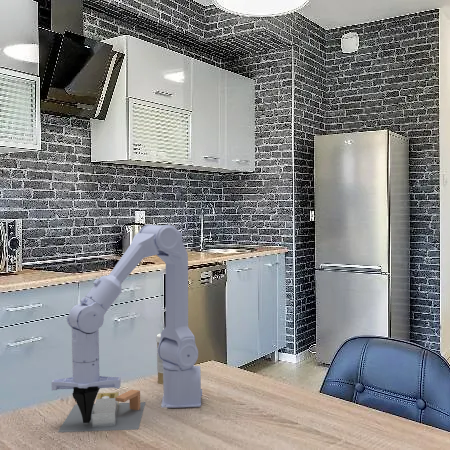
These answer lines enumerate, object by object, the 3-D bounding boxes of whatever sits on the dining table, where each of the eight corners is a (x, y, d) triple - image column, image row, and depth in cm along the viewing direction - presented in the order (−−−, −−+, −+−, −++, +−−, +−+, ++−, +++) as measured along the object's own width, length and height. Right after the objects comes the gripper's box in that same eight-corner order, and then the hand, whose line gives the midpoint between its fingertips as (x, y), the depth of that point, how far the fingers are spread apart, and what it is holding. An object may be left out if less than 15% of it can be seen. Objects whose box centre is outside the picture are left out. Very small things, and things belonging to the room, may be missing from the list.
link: (98, 405, 133) (98, 393, 133) (118, 404, 133) (118, 392, 133) (92, 427, 119) (92, 413, 119) (115, 426, 120) (115, 412, 120)
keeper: (132, 409, 132) (131, 389, 132) (140, 410, 131) (140, 390, 130) (115, 417, 126) (115, 397, 126) (124, 419, 125) (123, 398, 125)
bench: (145, 403, 135) (145, 390, 135) (138, 431, 118) (138, 416, 118) (75, 406, 134) (74, 392, 134) (57, 433, 117) (57, 418, 117)
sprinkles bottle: (168, 379, 155) (167, 331, 154) (177, 383, 151) (176, 334, 151) (154, 383, 152) (153, 334, 151) (163, 386, 148) (162, 336, 148)
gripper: (47, 365, 116) (48, 429, 117) (116, 363, 117) (117, 427, 117) (55, 356, 123) (57, 417, 124) (121, 354, 124) (122, 415, 124)
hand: (87, 421), depth 121 cm, fingers closed
